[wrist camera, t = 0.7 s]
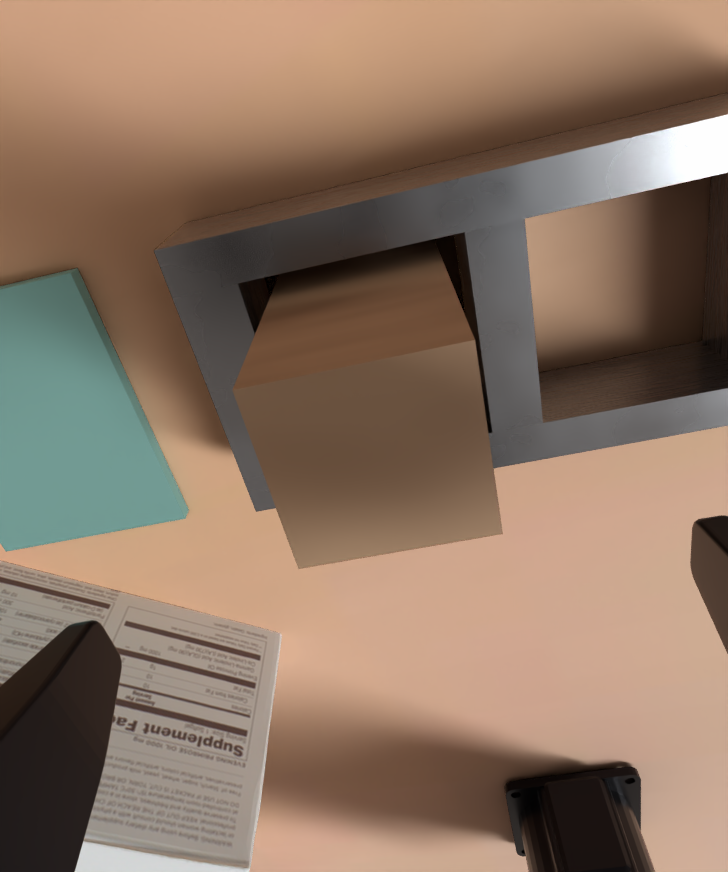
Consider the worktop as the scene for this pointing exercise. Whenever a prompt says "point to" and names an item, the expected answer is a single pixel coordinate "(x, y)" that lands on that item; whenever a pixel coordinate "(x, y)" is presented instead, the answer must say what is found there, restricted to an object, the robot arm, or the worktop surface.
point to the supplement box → (161, 722)
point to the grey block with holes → (482, 279)
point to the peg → (370, 409)
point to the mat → (71, 423)
